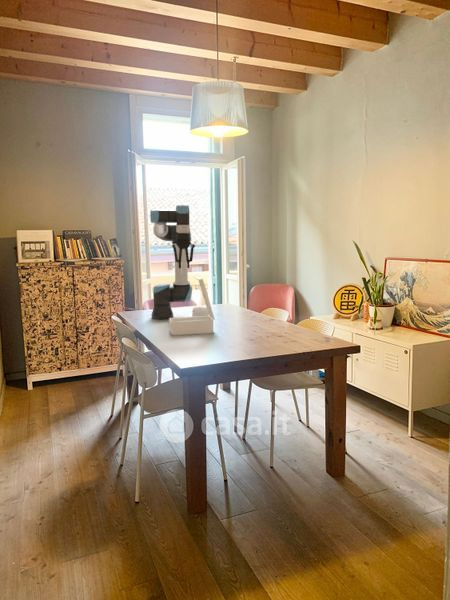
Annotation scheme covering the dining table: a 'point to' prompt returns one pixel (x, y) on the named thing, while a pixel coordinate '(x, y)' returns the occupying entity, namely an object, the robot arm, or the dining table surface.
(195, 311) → the photo printer
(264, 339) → the dining table surface
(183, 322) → the box
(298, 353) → the dining table surface
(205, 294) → the mailer lid
